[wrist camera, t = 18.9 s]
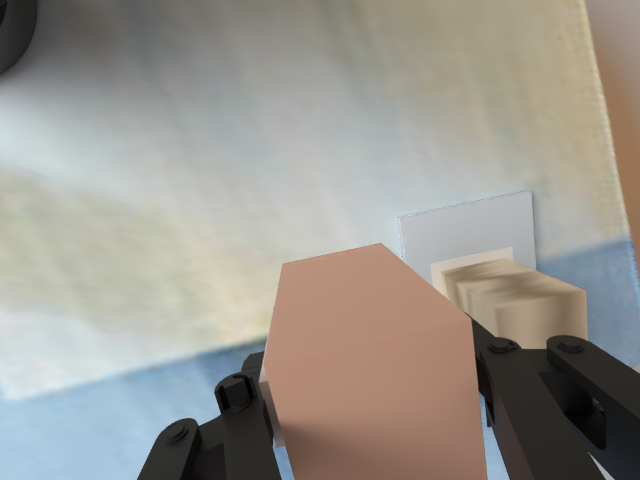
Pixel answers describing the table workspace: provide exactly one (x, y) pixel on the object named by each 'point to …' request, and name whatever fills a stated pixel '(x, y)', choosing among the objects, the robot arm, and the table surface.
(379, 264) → the terracotta block
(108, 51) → the table surface
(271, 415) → the robot arm
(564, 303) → the beech block
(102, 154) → the table surface
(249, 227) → the table surface
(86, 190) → the table surface
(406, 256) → the white flat board
